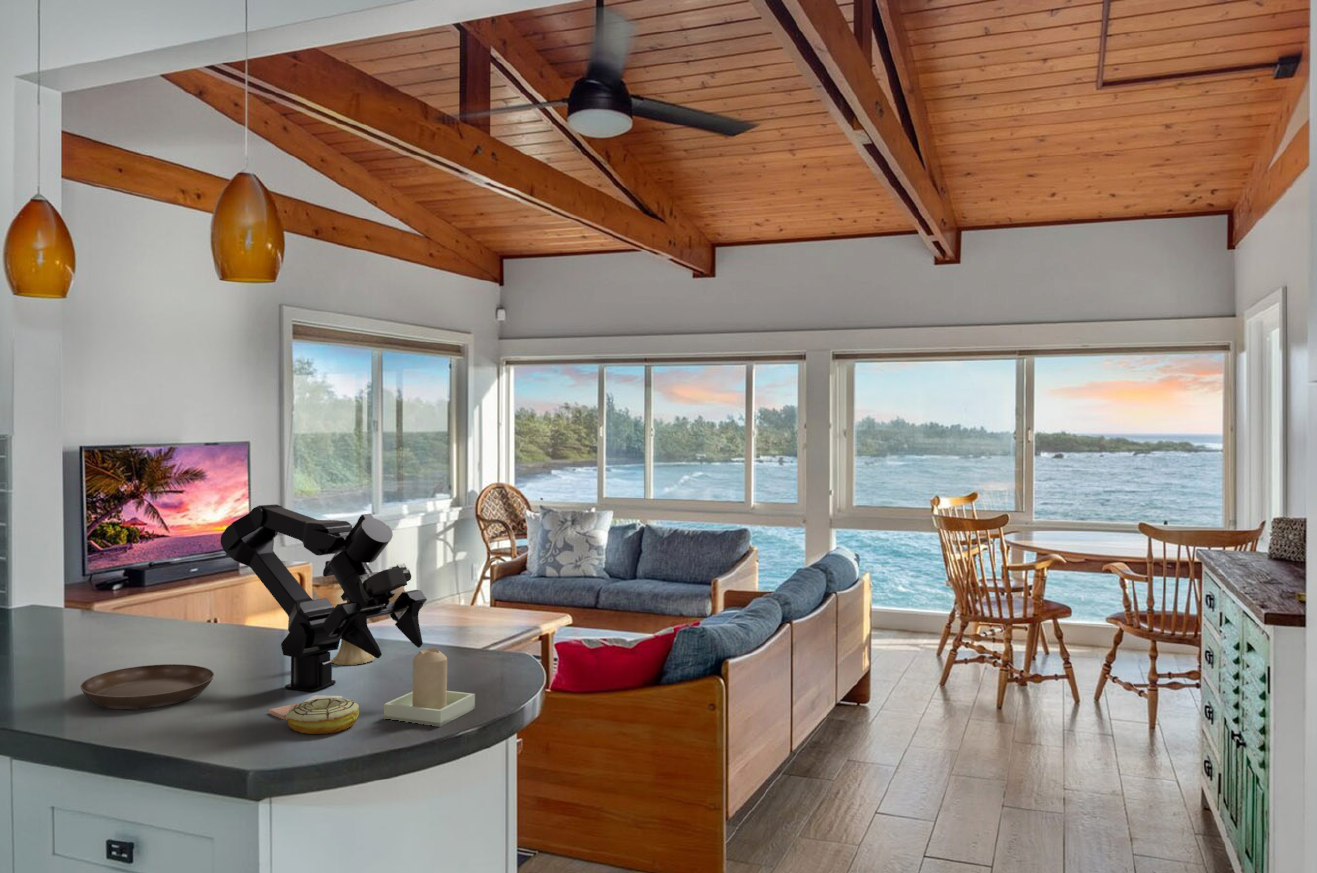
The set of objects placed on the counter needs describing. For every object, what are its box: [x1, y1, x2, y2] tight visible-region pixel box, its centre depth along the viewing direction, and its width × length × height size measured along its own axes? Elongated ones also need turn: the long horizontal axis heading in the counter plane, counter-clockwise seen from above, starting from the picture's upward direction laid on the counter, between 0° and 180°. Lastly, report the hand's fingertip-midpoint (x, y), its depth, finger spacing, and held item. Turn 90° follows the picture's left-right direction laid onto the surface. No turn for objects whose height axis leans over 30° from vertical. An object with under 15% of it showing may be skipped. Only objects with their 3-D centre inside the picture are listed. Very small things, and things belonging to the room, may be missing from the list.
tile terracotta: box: [268, 703, 299, 721], centre depth 157 cm, size 5×5×1 cm
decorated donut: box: [285, 698, 360, 735], centre depth 151 cm, size 10×11×4 cm
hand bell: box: [331, 600, 375, 666], centre depth 193 cm, size 8×8×16 cm
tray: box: [383, 690, 476, 728], centre depth 158 cm, size 11×11×2 cm
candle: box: [412, 647, 448, 710], centre depth 158 cm, size 6×6×10 cm
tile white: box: [303, 694, 343, 702], centre depth 163 cm, size 5×5×1 cm
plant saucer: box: [80, 663, 215, 710], centre depth 167 cm, size 21×21×3 cm
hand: (400, 651), depth 161 cm, fingers open, 9 cm apart
